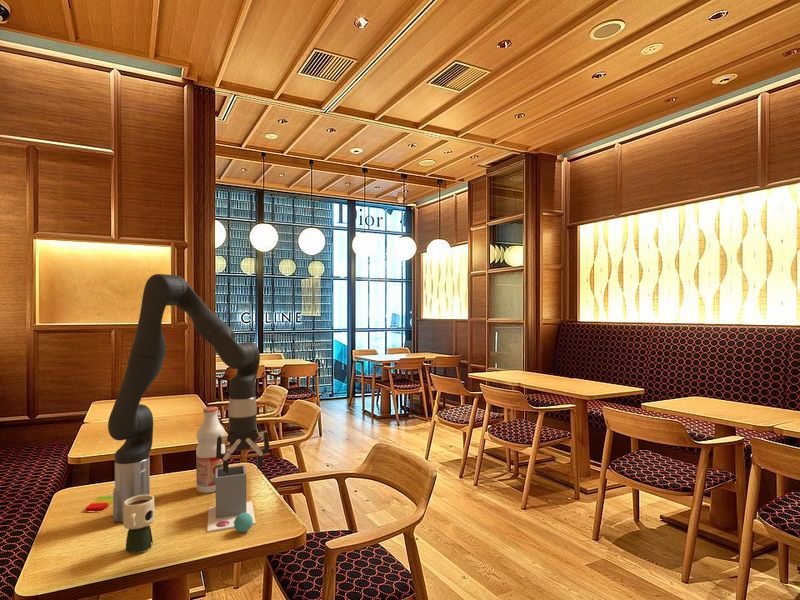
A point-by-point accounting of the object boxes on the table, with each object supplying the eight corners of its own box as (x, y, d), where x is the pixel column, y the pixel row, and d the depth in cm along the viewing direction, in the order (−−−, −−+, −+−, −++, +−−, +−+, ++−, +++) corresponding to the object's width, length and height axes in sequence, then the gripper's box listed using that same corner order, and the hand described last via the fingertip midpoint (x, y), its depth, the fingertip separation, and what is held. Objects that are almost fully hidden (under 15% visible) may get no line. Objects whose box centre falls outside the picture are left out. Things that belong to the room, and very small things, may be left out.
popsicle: (83, 514, 145) (83, 508, 145) (107, 494, 160) (107, 489, 160) (102, 513, 146) (102, 507, 146) (124, 494, 161) (124, 488, 161)
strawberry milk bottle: (201, 483, 168) (200, 405, 168) (228, 482, 169) (227, 404, 169) (192, 494, 159) (192, 411, 159) (221, 492, 160) (220, 410, 160)
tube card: (207, 532, 132) (207, 488, 132) (208, 509, 147) (208, 469, 147) (255, 524, 137) (255, 481, 137) (251, 502, 152) (251, 463, 152)
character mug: (147, 558, 119) (147, 507, 119) (116, 562, 117) (116, 510, 117) (160, 537, 129) (159, 490, 129) (131, 540, 128) (131, 492, 128)
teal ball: (234, 536, 130) (234, 518, 130) (233, 528, 134) (233, 511, 134) (253, 533, 131) (253, 515, 131) (252, 525, 136) (252, 508, 136)
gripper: (215, 418, 127) (216, 478, 127) (270, 413, 132) (270, 471, 132) (215, 412, 134) (216, 469, 134) (267, 408, 139) (267, 463, 139)
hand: (243, 470), depth 133 cm, fingers open, 8 cm apart
